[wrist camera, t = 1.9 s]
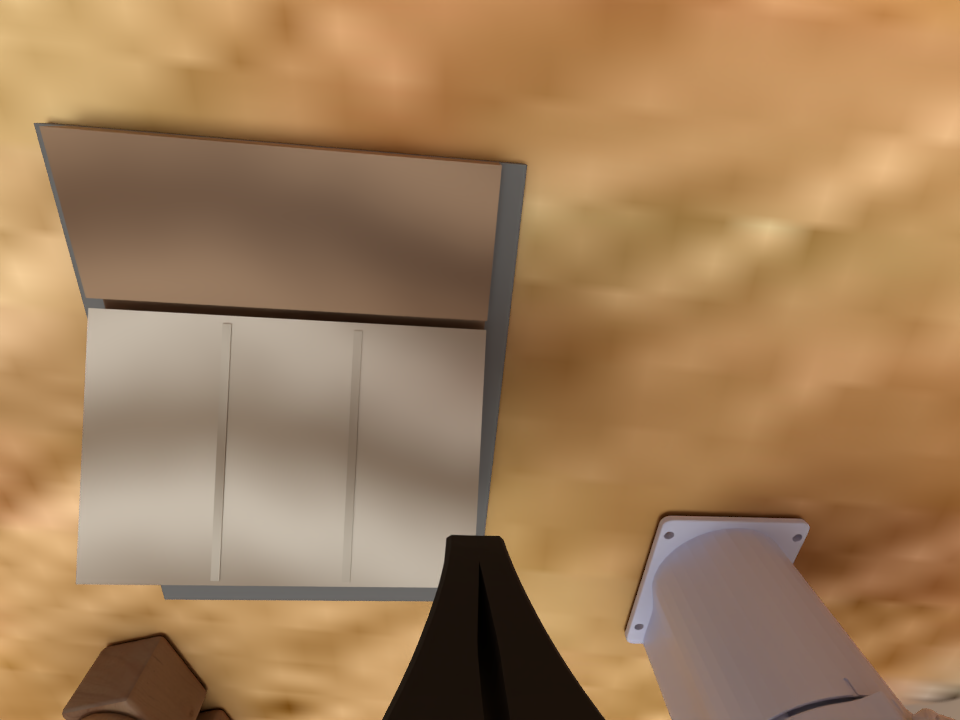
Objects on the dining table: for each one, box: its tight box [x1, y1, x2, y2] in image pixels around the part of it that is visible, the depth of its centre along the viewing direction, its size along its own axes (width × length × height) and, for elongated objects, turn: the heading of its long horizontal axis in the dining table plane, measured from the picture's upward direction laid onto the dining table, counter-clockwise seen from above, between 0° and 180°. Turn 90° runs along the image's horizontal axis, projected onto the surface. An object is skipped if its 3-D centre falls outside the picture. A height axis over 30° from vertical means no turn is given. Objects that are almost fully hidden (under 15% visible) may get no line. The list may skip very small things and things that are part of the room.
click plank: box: [76, 308, 486, 588], centre depth 18 cm, size 10×14×1 cm
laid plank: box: [39, 126, 502, 330], centre depth 17 cm, size 6×14×1 cm, turn 85°
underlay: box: [34, 123, 527, 601], centre depth 21 cm, size 22×16×1 cm
